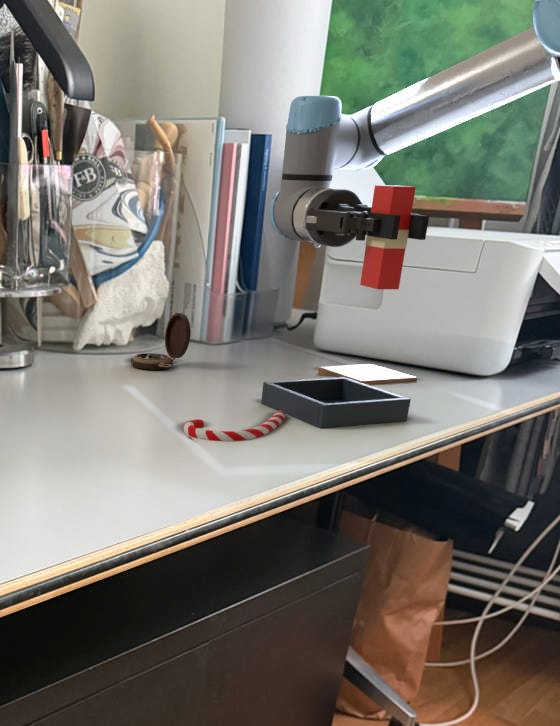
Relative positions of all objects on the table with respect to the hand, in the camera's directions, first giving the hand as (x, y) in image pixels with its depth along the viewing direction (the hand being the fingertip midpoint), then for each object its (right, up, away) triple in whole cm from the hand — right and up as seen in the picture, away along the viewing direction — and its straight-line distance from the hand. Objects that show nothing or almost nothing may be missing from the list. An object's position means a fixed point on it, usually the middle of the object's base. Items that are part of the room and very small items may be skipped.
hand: (410, 227), depth 115 cm
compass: (-29, -12, +19) cm, 37 cm away
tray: (-11, -24, -5) cm, 27 cm away
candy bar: (-1, -4, +8) cm, 9 cm away
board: (-1, -15, +15) cm, 21 cm away
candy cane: (-23, -28, -12) cm, 38 cm away
